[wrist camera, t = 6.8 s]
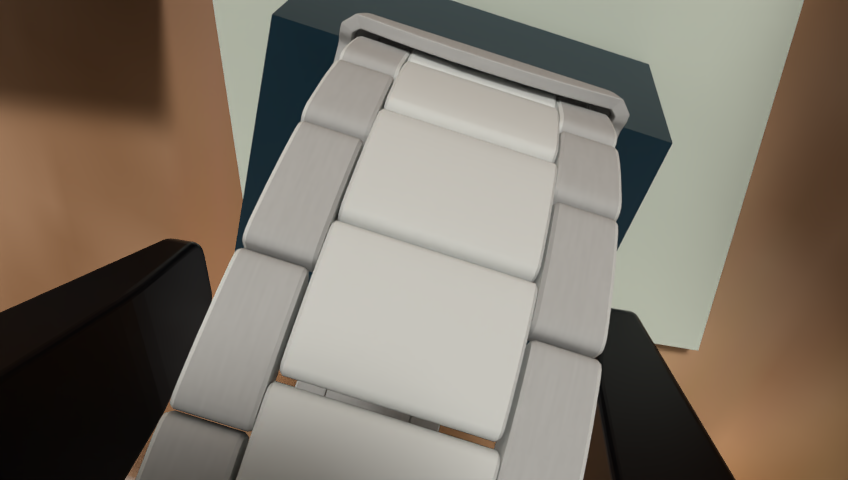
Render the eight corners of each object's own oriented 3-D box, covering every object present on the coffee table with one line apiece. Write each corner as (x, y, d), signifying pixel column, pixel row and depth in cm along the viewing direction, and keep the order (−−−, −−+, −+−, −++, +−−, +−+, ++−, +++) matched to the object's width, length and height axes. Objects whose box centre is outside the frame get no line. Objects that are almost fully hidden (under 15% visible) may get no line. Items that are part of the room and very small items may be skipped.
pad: (854, -206, 10) (864, -202, 10) (696, 331, 16) (698, 350, 16) (196, -225, 12) (178, -223, 12) (265, 262, 18) (254, 277, 18)
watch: (275, 257, 16) (-122, 942, 7) (355, -154, 11) (-515, 184, 2) (526, 337, 16) (481, 1118, 7) (704, -41, 11) (1287, 745, 2)
